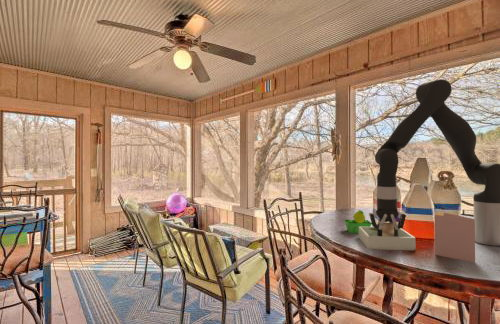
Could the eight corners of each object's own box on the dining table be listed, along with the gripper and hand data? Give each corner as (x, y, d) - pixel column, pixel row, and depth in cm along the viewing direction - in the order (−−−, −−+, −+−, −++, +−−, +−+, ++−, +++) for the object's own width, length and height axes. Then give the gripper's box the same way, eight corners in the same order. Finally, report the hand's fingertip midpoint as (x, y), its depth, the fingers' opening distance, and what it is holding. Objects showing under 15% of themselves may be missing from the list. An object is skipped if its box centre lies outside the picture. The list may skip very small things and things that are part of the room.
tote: (400, 238, 118) (399, 227, 118) (415, 250, 103) (415, 237, 103) (358, 237, 121) (358, 226, 121) (368, 248, 106) (367, 236, 106)
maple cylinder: (391, 238, 111) (391, 221, 111) (396, 241, 106) (396, 224, 106) (379, 237, 111) (378, 221, 111) (383, 241, 107) (382, 224, 106)
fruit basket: (367, 229, 134) (366, 207, 134) (373, 234, 125) (373, 211, 125) (344, 229, 135) (343, 207, 135) (348, 234, 126) (348, 211, 126)
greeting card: (477, 262, 90) (476, 218, 90) (459, 264, 89) (459, 220, 89) (446, 250, 101) (445, 212, 101) (430, 252, 100) (429, 213, 100)
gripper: (370, 198, 106) (371, 240, 106) (409, 198, 103) (410, 241, 104) (366, 195, 113) (366, 235, 113) (401, 195, 111) (402, 235, 111)
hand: (387, 237), depth 109 cm, fingers closed on maple cylinder, 4 cm apart
